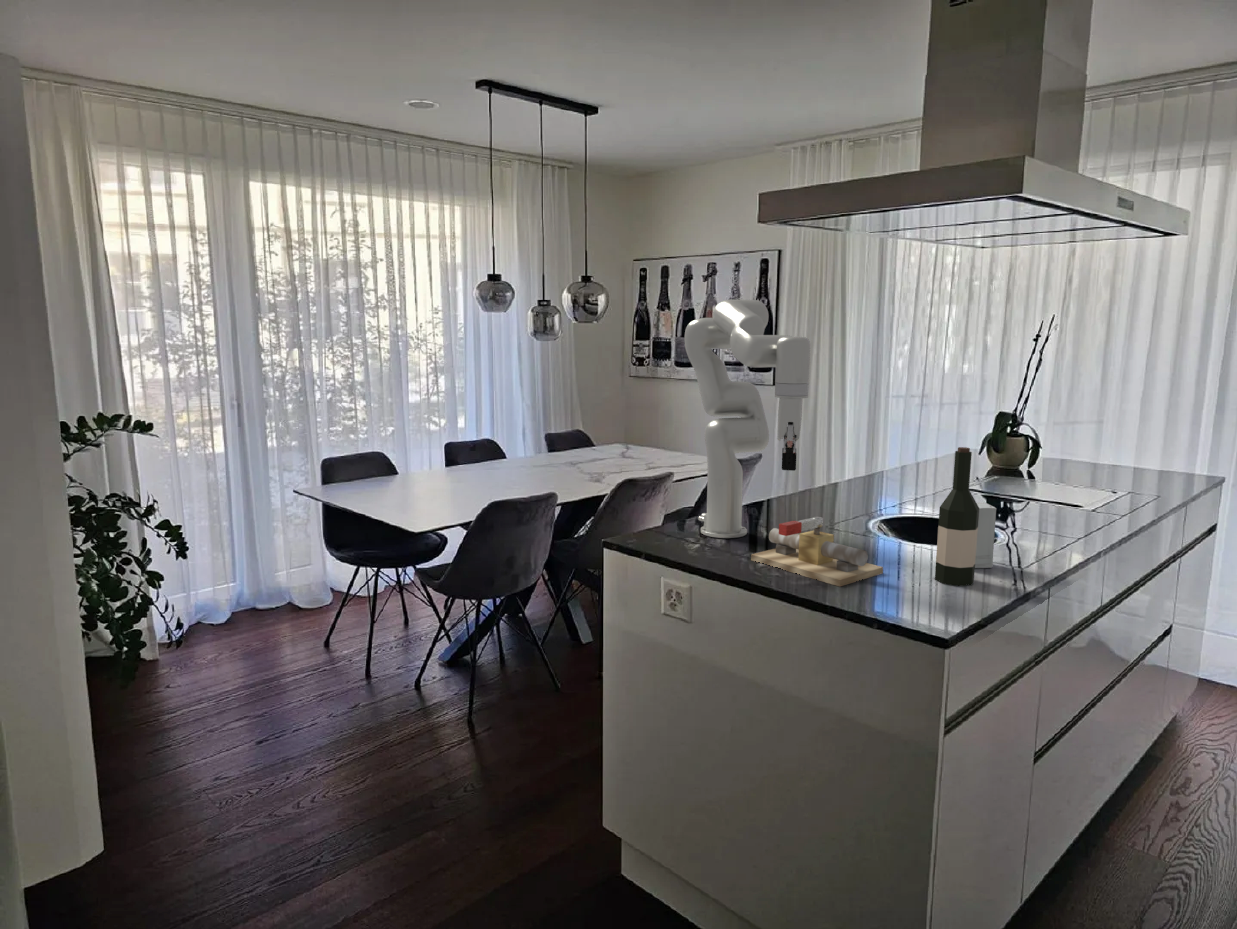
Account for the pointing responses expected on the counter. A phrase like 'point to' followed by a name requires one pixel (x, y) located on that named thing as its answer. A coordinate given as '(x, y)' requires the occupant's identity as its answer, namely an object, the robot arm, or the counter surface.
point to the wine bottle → (958, 528)
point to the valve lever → (800, 526)
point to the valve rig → (817, 557)
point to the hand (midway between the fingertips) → (788, 466)
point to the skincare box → (985, 536)
